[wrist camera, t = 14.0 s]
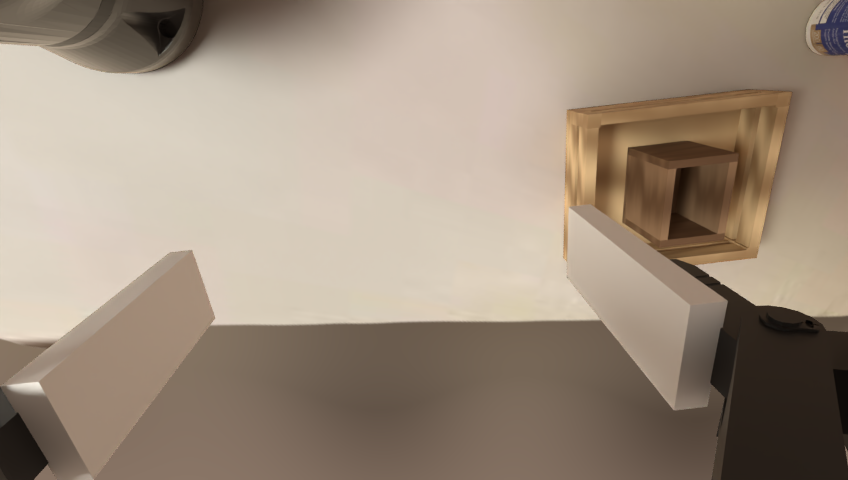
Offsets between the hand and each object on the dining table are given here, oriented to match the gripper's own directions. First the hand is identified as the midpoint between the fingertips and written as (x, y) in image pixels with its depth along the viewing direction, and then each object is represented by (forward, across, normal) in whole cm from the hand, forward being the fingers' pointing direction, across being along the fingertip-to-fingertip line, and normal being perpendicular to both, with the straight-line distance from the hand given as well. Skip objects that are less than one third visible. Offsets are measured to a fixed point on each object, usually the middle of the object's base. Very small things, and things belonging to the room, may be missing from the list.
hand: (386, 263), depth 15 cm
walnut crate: (+28, +26, -7) cm, 39 cm away
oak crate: (+29, +26, -7) cm, 39 cm away
